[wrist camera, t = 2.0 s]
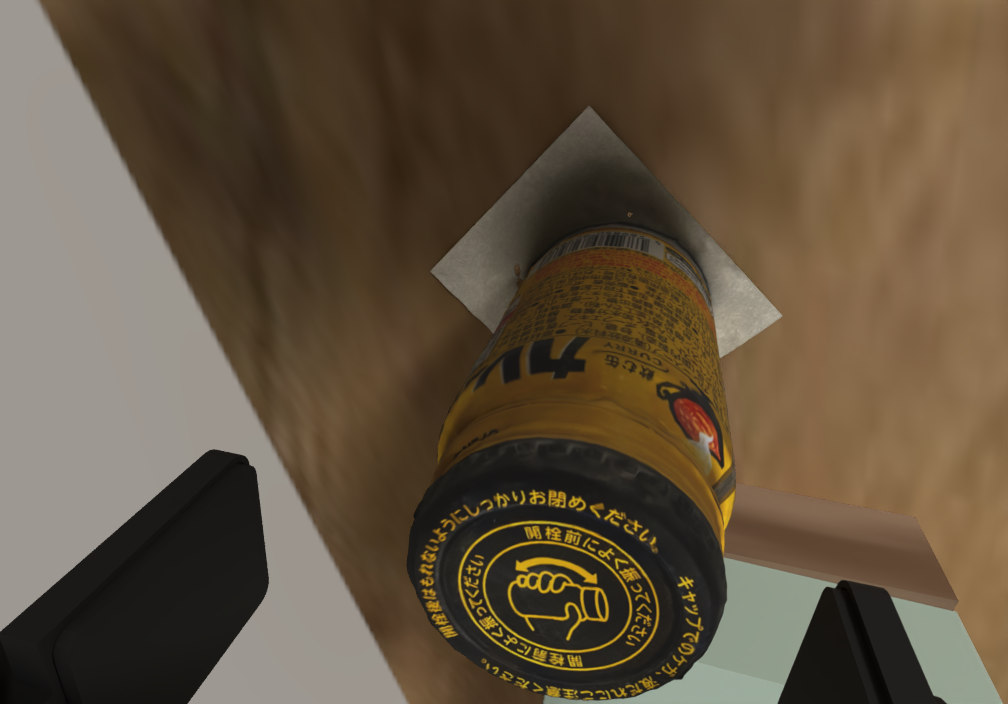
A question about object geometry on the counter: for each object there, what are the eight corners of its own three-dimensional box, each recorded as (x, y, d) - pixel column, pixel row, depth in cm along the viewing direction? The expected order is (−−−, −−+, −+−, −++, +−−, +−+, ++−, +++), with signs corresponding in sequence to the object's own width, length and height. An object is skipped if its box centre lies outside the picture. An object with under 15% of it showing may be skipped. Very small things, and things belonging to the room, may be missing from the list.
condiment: (603, 437, 23) (549, 783, 12) (431, 269, 21) (202, 497, 11) (782, 313, 19) (918, 644, 9) (590, 103, 18) (481, 202, 7)
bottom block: (589, 448, 23) (575, 521, 20) (911, 509, 22) (958, 600, 18) (557, 647, 28) (542, 732, 25) (816, 710, 27) (838, 812, 23)
